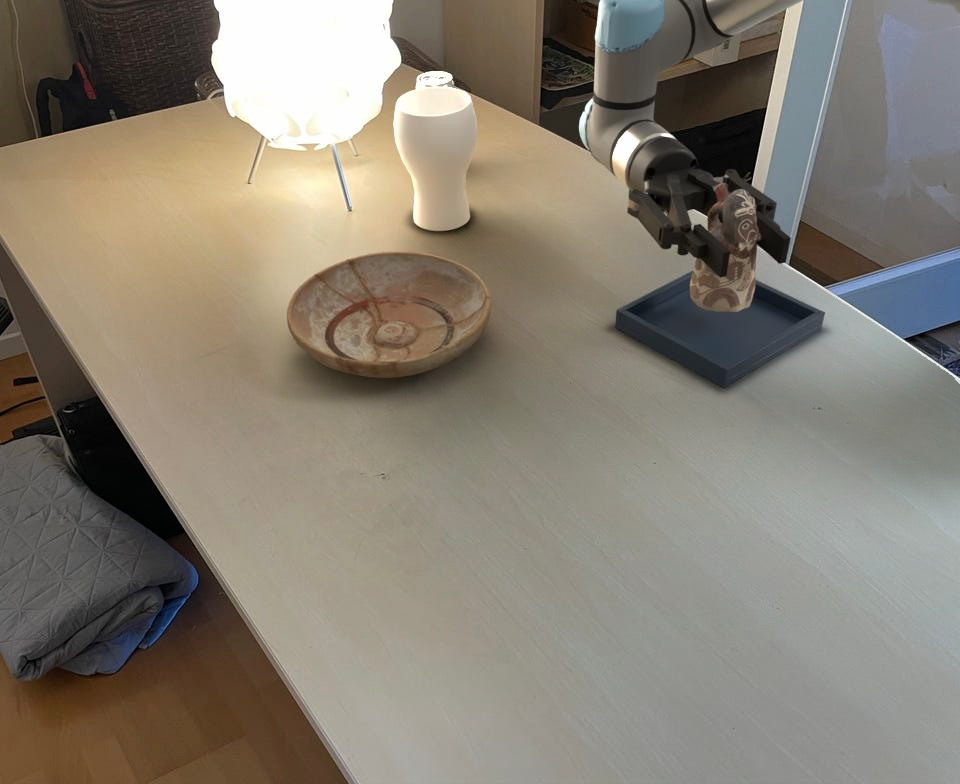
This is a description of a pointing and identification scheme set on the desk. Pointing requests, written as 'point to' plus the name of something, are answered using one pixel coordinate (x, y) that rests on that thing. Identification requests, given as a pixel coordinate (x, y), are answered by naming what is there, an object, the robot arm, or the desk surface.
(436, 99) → the cup
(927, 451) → the desk surface
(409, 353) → the ceramic bowl
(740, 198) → the figurine
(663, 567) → the desk surface
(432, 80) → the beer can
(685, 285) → the tray
